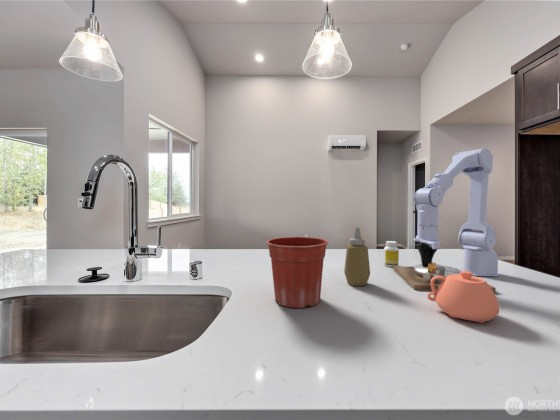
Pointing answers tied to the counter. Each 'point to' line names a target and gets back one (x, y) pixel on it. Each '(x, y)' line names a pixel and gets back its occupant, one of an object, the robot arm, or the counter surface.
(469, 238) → the robot arm
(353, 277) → the squeeze bottle
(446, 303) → the sugar bowl
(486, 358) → the counter surface
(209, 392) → the counter surface
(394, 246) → the supplement bottle
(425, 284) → the post board
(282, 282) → the flower pot
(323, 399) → the counter surface
